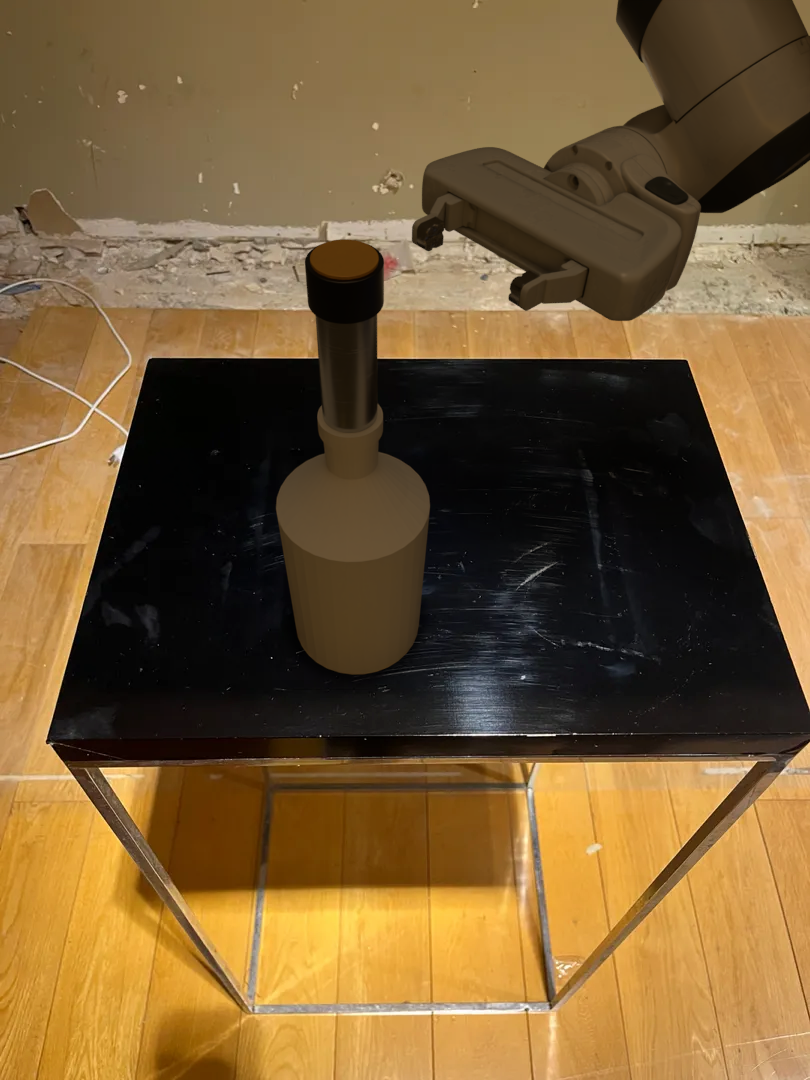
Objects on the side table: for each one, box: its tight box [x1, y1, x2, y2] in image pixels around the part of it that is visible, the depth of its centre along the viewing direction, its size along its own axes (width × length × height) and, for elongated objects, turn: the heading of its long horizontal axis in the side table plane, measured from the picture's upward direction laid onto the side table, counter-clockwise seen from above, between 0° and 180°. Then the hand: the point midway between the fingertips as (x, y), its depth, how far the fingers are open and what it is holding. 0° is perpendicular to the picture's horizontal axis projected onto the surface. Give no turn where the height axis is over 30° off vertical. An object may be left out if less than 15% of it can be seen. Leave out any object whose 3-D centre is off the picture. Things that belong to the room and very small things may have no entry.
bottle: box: [275, 403, 431, 675], centre depth 67 cm, size 12×12×25 cm
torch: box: [304, 239, 385, 433], centre depth 52 cm, size 5×5×12 cm
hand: (465, 266), depth 56 cm, fingers open, 8 cm apart
